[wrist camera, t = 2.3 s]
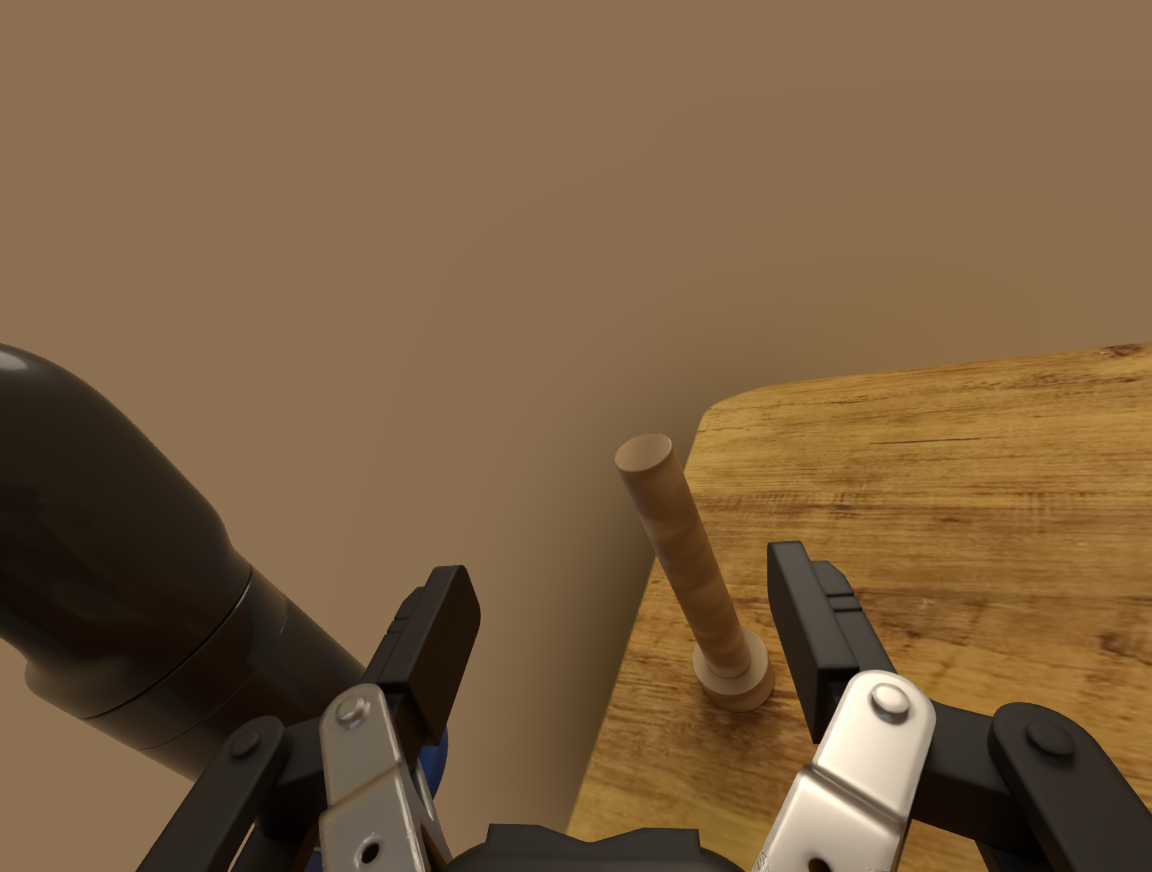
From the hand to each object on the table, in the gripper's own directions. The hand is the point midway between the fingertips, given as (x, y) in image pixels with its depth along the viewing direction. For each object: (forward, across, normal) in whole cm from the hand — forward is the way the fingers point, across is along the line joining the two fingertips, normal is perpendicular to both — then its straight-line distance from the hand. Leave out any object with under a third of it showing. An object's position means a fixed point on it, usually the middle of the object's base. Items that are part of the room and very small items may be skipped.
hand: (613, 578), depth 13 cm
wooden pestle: (+11, +4, -19) cm, 22 cm away
